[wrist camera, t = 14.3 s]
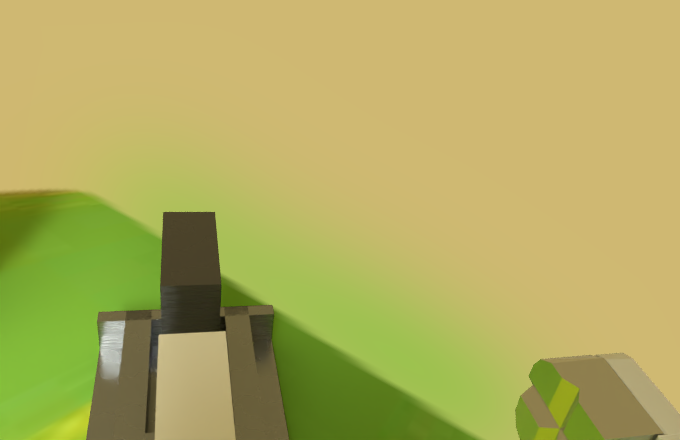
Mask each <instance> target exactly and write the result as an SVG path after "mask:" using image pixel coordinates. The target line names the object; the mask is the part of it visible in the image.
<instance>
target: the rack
mask: <svg viewBox="0 0 680 440" xmlns="http://www.w3.org/2000/svg"><path fill="white" fill-rule="evenodd" d="M160 290H161V310H137V311H112V312H99V313H98V320H97V326H98V335H99V345H100V351H99V358H98V365H97V371H96V378H95V385H94V391H93V398H92V405H91V411H90V418H89V425H88V431H87V438H86V440H155V415H156V389H157V363H158V337H159V335H160V334H180V333H200V332H219V331H226V341H227V352H228V362H229V373H230V384H231V395H232V406H233V417H234V428H235V438H236V440H289V436H288V431H287V425H286V419H285V414H284V408H283V402H282V397H281V391H280V385H279V380H278V374H277V368H276V363H275V357H274V351H273V346H272V340H271V339H272V329H273V319H274V312H273V306H272V305H261V306H236V307H220V304H221V276H220V265H219V254H218V243H217V231H216V220H215V212H164V213H163V234H162V259H161V283H160Z"/></svg>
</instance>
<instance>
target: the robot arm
mask: <svg viewBox="0 0 680 440" xmlns="http://www.w3.org/2000/svg"><path fill="white" fill-rule="evenodd" d="M529 378H530V380H531V382H532V384H533V386H531V387H530V388H529V389H528V390H527V391H525V392H524V393H523V394H522V395H521V396H520V399H519V402H518V405H517V407H516V428H517V431H518V434H519V437H520V440H680V414H679V413H678V411H677V410H676V409H675V408H674V407H673V405H672V404H671V403H670V402H669V401H668V400H667V398H666V397H665V396H664V395H663V394H662V392H661V391H660V390H659V389H658V388H657V387H656V385H655V384H654V383H653V382H652V381H651V380H650V379H649V377H648V376H647V375H646V374H645V372H644V371H643V370H642V369H641V368H640V367H639V365H638V364H637V363H636V362H635V361H634V359H632V358H631V357H629V356H628V355H626V354H624V353H614V354H601V355H594V356H593V355H586V356H573V357H562V358H550V359H540V360H539V361H538V362H537V363H535V364H534V365H533V368H532V370H531V372H530V374H529Z"/></svg>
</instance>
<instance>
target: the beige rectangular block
mask: <svg viewBox="0 0 680 440" xmlns="http://www.w3.org/2000/svg"><path fill="white" fill-rule="evenodd" d="M155 440H236V438H235V428H234V417H233V406H232V395H231V384H230V373H229V362H228V352H227V341H226V331H219V332H200V333H180V334H160V335H159V337H158V363H157V389H156V415H155Z"/></svg>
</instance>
